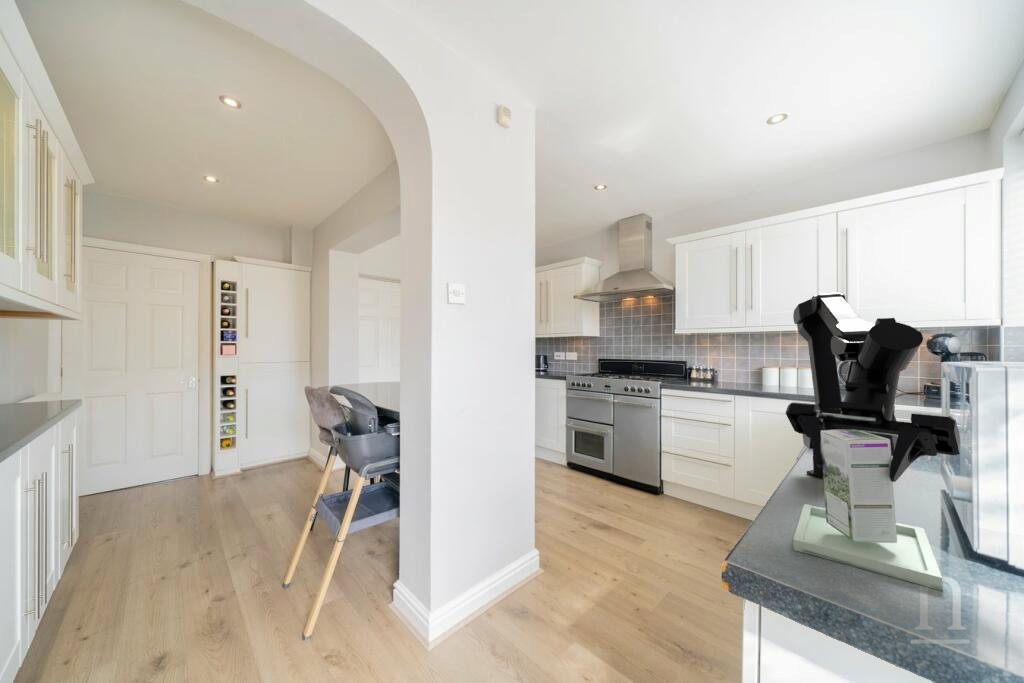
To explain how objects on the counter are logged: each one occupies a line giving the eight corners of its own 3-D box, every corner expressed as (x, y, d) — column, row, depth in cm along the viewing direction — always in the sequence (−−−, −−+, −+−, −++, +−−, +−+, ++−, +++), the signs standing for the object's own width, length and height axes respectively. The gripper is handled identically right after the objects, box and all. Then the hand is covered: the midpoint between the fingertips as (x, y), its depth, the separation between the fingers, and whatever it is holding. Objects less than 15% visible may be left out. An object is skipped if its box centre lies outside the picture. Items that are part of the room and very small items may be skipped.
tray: (804, 512, 65) (804, 503, 65) (924, 538, 55) (923, 528, 55) (793, 549, 53) (793, 539, 53) (943, 591, 43) (942, 577, 43)
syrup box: (899, 544, 51) (894, 438, 51) (851, 542, 52) (846, 438, 52) (866, 523, 57) (861, 428, 57) (823, 522, 57) (818, 428, 58)
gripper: (968, 429, 56) (962, 525, 49) (814, 413, 71) (794, 484, 64) (957, 380, 51) (949, 478, 45) (796, 374, 67) (772, 447, 60)
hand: (853, 472), depth 54 cm, fingers closed on syrup box, 8 cm apart
